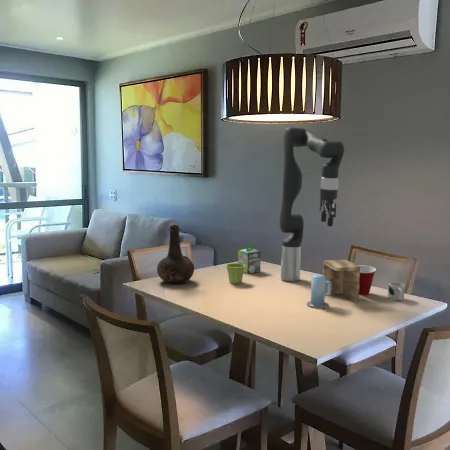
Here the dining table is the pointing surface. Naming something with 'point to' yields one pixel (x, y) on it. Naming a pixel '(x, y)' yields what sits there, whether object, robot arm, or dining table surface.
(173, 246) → the glass bottle
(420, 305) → the dining table surface
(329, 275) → the shelf
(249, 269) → the chalk box
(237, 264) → the plant pot
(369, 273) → the plastic cup
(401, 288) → the mug
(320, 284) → the light blue piece
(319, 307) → the coaster
